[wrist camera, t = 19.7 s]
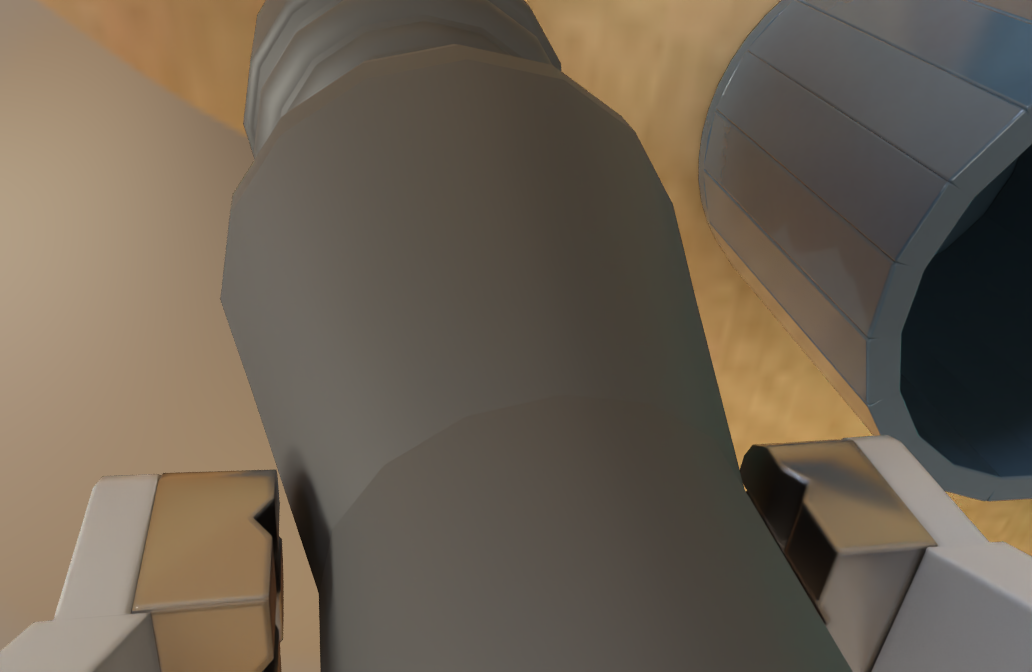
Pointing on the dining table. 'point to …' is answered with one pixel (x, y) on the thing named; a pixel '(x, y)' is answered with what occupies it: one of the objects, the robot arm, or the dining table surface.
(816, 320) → the crock
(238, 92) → the dining table surface
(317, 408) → the candle holder
